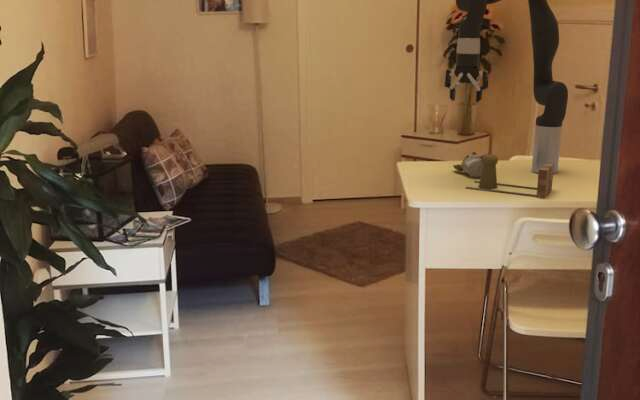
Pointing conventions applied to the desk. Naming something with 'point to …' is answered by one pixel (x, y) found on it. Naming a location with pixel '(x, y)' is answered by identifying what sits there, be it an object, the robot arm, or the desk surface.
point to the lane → (542, 188)
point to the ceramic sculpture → (471, 165)
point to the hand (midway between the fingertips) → (465, 101)
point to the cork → (488, 172)
